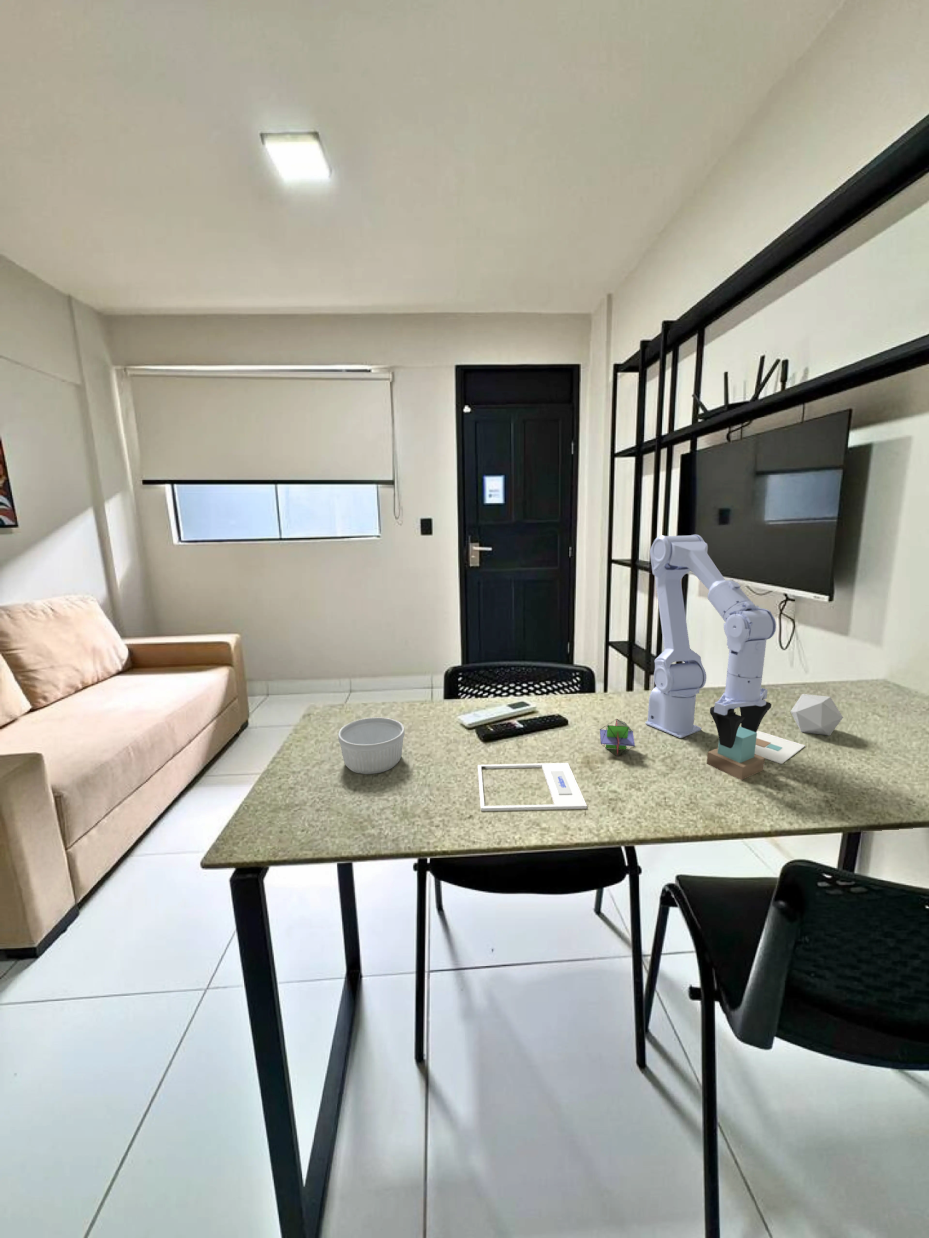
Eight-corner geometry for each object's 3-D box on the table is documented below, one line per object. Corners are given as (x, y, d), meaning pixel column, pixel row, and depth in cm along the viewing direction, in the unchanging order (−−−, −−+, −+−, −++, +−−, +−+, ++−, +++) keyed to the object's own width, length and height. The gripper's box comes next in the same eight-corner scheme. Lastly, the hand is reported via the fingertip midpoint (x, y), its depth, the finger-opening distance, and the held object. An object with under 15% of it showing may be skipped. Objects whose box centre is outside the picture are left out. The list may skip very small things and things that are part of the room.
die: (834, 729, 110) (807, 689, 113) (860, 726, 102) (831, 683, 105) (800, 744, 110) (775, 703, 113) (824, 742, 101) (796, 698, 105)
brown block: (706, 765, 95) (707, 751, 95) (728, 757, 98) (729, 743, 98) (741, 782, 89) (742, 767, 89) (762, 772, 92) (764, 757, 92)
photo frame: (587, 804, 81) (480, 807, 81) (586, 810, 81) (480, 813, 81) (568, 761, 96) (477, 763, 95) (567, 766, 96) (477, 769, 96)
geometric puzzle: (637, 755, 94) (635, 715, 98) (601, 752, 96) (601, 713, 99) (632, 761, 101) (631, 723, 104) (598, 758, 102) (598, 721, 106)
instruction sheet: (728, 745, 102) (729, 744, 102) (754, 730, 109) (754, 729, 109) (781, 764, 94) (781, 762, 94) (805, 746, 101) (805, 744, 101)
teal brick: (717, 753, 94) (719, 729, 93) (731, 747, 96) (734, 724, 95) (740, 763, 90) (742, 738, 89) (754, 757, 92) (756, 732, 91)
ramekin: (415, 750, 103) (414, 719, 102) (389, 782, 91) (387, 748, 89) (359, 743, 107) (357, 714, 105) (327, 773, 94) (324, 740, 93)
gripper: (744, 687, 83) (737, 759, 85) (787, 671, 90) (778, 738, 93) (706, 676, 89) (700, 744, 91) (748, 662, 96) (742, 726, 99)
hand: (737, 740), depth 93 cm, fingers open, 7 cm apart
